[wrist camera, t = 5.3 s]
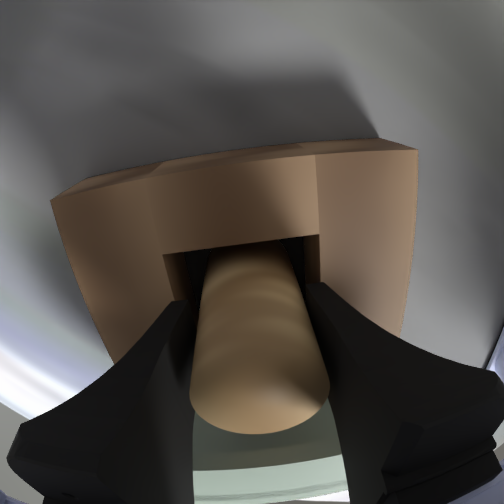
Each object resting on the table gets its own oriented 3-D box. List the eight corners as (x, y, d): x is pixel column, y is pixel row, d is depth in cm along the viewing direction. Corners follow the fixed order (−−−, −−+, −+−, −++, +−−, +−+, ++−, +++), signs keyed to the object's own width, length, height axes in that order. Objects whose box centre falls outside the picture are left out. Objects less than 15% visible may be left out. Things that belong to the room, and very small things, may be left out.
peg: (287, 223, 13) (333, 337, 7) (292, 297, 15) (326, 424, 8) (199, 235, 13) (172, 356, 7) (214, 307, 15) (206, 438, 8)
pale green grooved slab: (374, 305, 15) (441, 424, 8) (367, 360, 17) (413, 470, 10) (136, 335, 15) (97, 464, 8) (158, 386, 17) (138, 502, 10)
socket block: (380, 137, 12) (418, 149, 9) (367, 360, 17) (384, 399, 14) (85, 178, 12) (50, 200, 9) (158, 386, 17) (150, 427, 14)
